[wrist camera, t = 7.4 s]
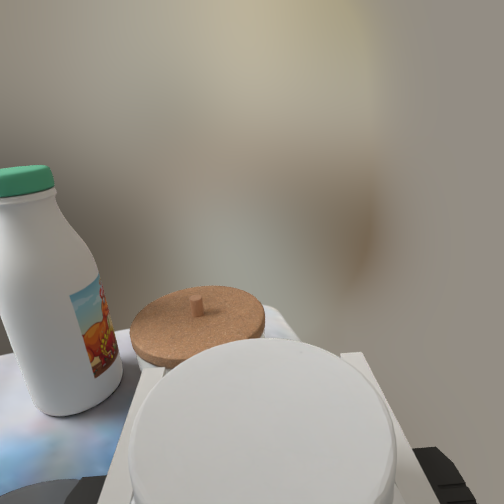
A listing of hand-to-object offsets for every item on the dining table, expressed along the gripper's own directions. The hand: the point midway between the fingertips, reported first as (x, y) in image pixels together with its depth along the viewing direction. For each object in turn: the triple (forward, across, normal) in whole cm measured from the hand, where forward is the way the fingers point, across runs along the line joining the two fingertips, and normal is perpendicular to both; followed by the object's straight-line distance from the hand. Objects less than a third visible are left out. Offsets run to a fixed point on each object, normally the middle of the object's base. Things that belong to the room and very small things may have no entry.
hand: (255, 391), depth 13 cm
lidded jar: (+15, -4, -14) cm, 21 cm away
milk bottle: (+17, -16, -14) cm, 27 cm away
